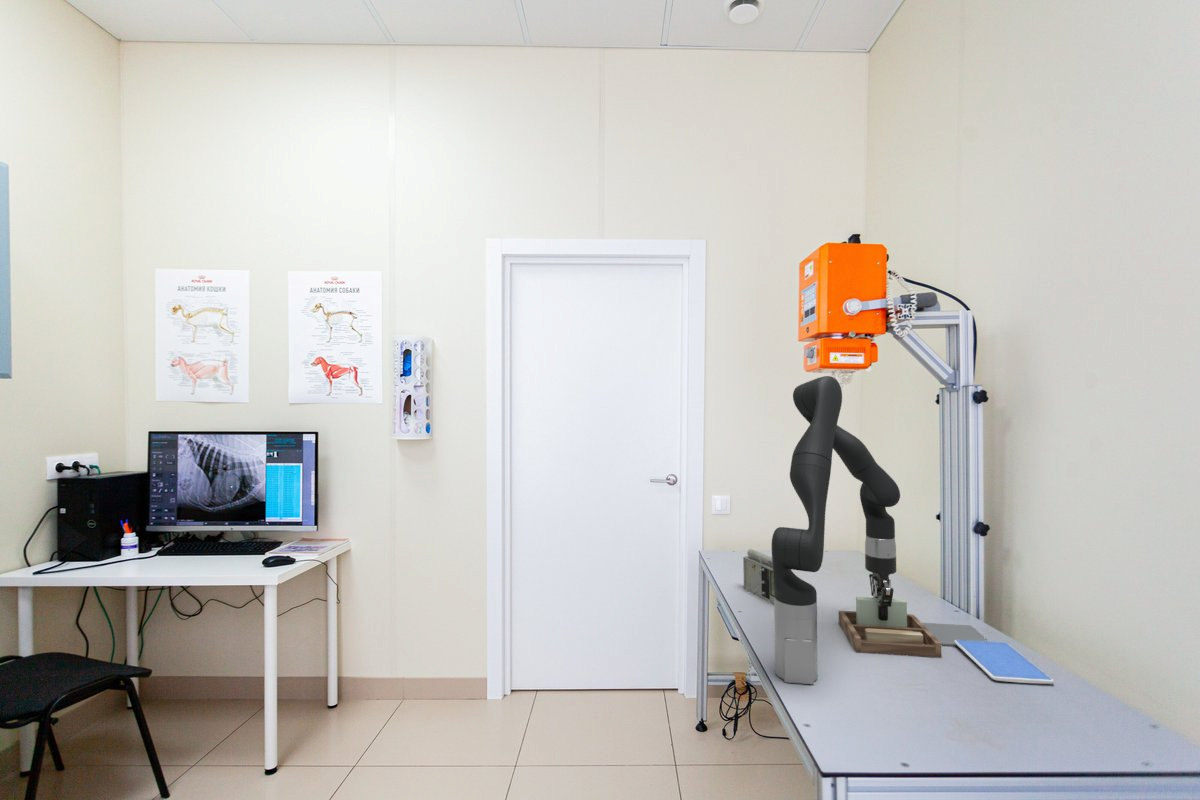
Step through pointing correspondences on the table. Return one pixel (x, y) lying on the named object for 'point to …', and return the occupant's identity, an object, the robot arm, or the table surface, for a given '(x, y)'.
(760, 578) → the geiger counter
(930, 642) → the storage rack
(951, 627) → the mat
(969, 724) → the table surface
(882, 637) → the offcut stack
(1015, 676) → the tablet computer
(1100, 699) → the table surface
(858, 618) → the tall block
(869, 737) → the table surface
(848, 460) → the robot arm
